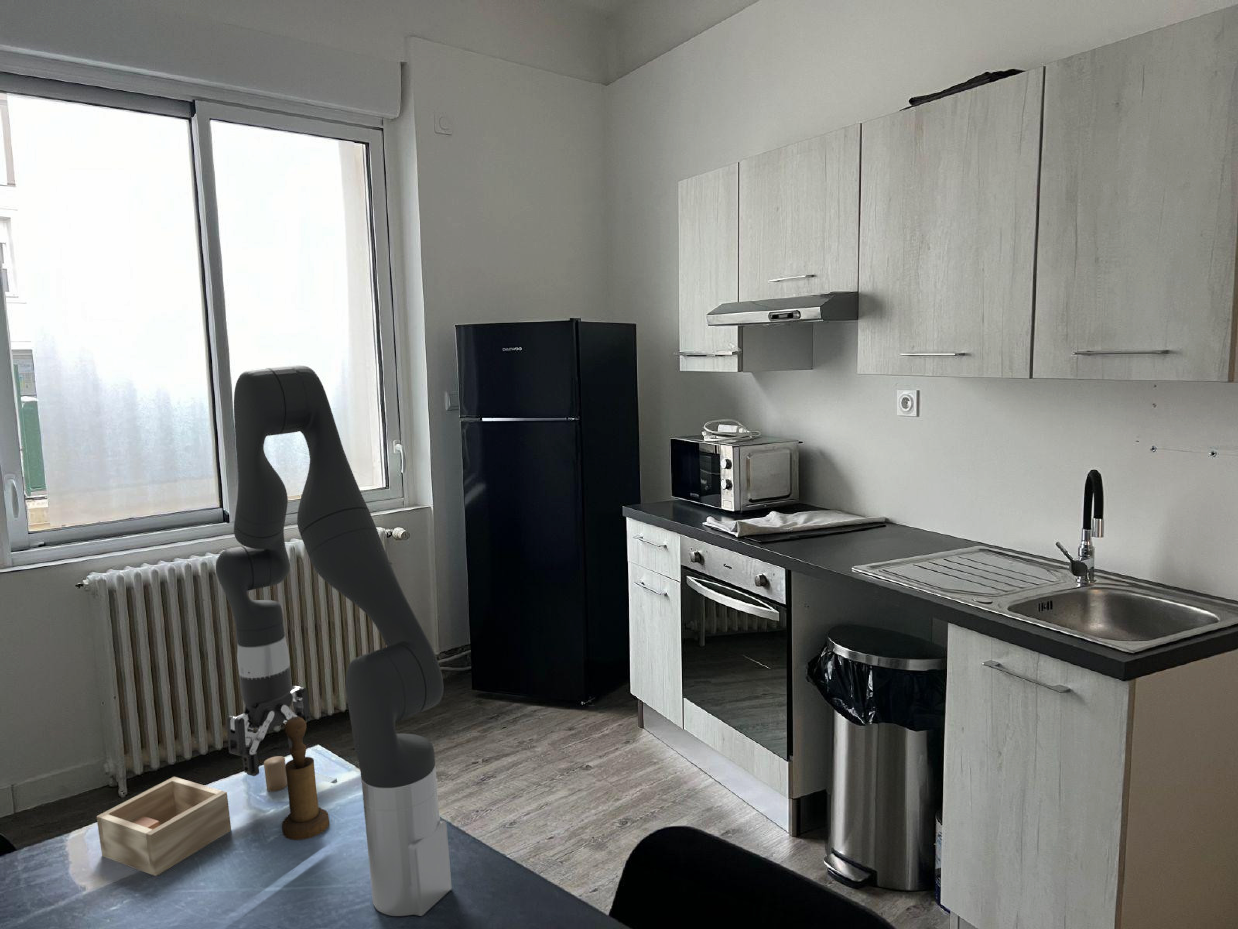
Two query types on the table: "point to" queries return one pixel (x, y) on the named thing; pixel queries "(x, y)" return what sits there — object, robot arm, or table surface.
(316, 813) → the mortar and pestle
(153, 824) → the block
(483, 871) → the table surface
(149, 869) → the box
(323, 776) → the lid
